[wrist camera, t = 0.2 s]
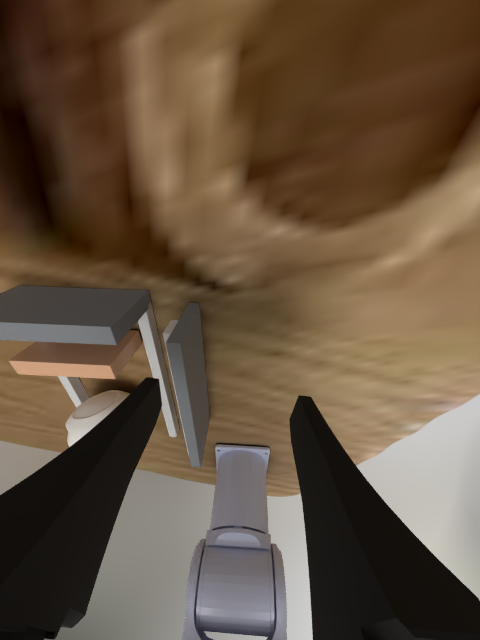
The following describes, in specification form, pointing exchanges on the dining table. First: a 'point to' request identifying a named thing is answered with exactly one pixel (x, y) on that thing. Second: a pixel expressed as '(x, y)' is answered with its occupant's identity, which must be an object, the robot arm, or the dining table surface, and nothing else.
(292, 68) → the dining table surface
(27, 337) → the rail mount
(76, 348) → the tan rectangular box
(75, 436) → the white rounded piece
